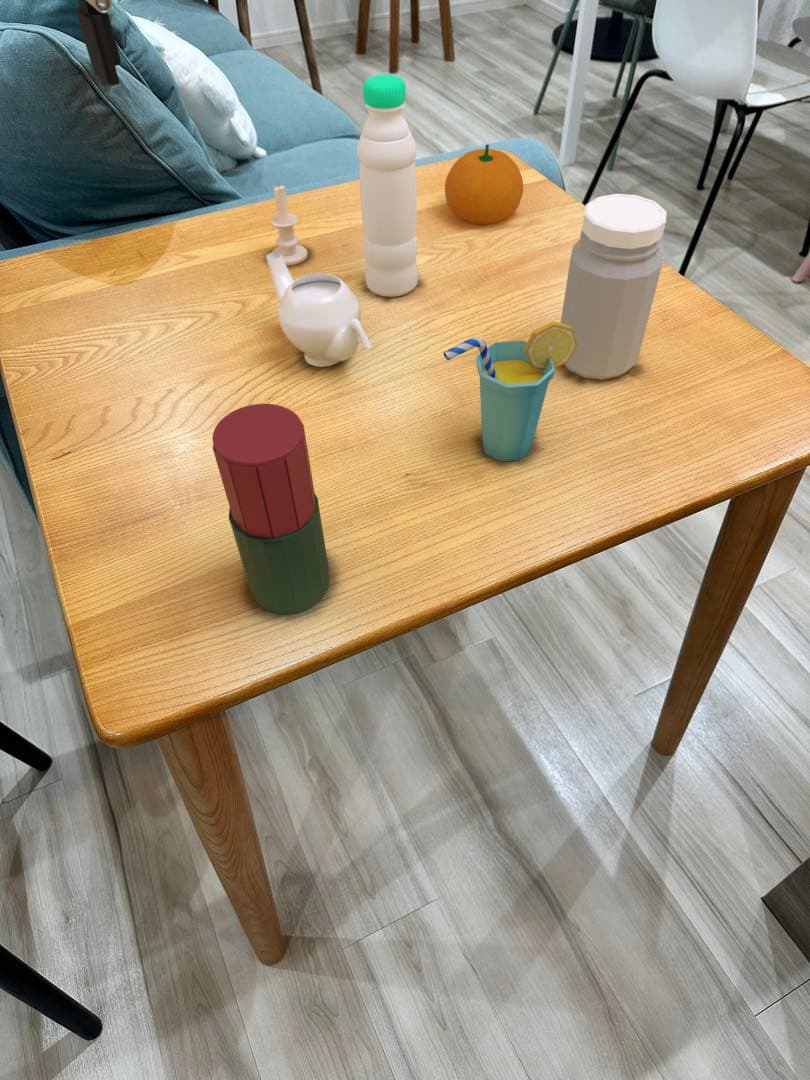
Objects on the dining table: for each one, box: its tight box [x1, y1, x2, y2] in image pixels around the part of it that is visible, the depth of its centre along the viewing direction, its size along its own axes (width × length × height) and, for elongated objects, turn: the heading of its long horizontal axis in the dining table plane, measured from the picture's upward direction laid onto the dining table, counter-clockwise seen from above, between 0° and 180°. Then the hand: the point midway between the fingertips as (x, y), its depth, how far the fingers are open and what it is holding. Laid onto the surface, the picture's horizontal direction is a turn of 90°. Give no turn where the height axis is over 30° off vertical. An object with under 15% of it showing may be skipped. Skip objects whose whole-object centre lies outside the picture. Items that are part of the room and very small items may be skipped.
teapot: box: [265, 251, 373, 368], centre depth 87 cm, size 10×20×9 cm, turn 38°
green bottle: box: [228, 493, 331, 615], centre depth 62 cm, size 7×7×15 cm
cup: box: [443, 320, 578, 462], centre depth 74 cm, size 14×8×15 cm, turn 118°
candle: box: [269, 182, 309, 266], centre depth 103 cm, size 5×5×10 cm
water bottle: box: [356, 73, 419, 298], centre depth 92 cm, size 7×7×25 cm
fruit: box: [444, 144, 524, 225], centre depth 110 cm, size 12×12×10 cm
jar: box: [560, 193, 667, 381], centre depth 82 cm, size 10×10×18 cm
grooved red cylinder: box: [212, 403, 316, 539], centre depth 57 cm, size 7×7×8 cm
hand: (37, 95), depth 49 cm, fingers open, 9 cm apart
